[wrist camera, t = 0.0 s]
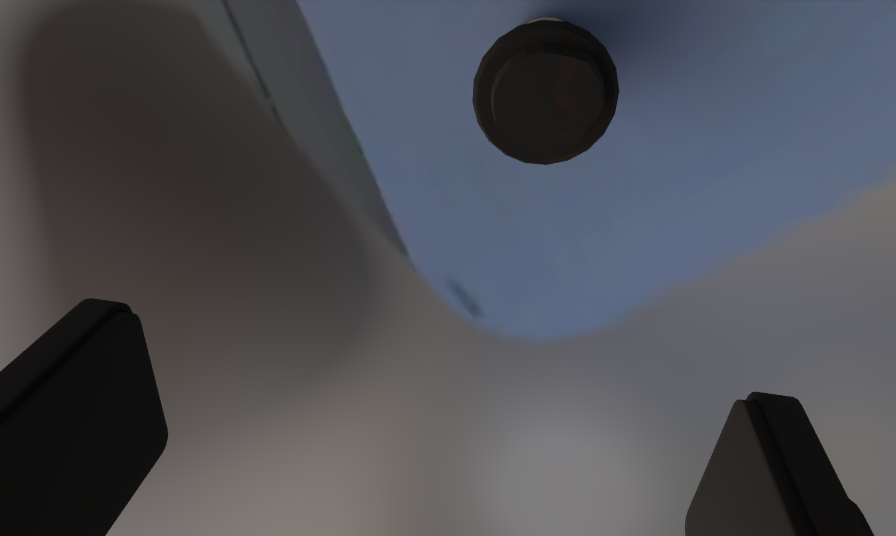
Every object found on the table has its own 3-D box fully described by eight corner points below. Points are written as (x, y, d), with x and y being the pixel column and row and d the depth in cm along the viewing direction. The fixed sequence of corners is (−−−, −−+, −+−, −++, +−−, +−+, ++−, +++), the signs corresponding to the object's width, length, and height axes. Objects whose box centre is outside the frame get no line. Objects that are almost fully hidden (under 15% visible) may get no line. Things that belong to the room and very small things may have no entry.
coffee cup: (511, 130, 39) (501, 195, 31) (468, 24, 36) (444, 63, 28) (619, 89, 37) (640, 146, 28) (583, -28, 34) (595, -3, 25)
